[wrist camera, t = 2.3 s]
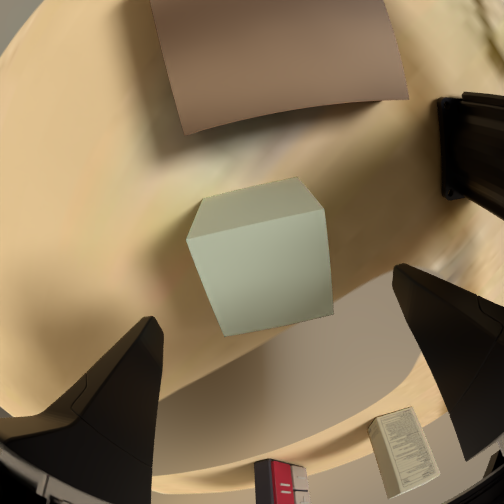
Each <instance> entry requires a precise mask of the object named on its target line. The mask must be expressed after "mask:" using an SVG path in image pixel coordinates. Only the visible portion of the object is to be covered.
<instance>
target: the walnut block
mask: <svg viewBox="0 0 504 504" xmlns="http://www.w3.org/2000/svg"><path fill="white" fill-rule="evenodd" d="M150 4H151V8H152V12H153V17H154V21H155V25H156V30H157V34H158V38H159V42H160V46H161V50H162V54H163V58H164V62H165V66H166V70H167V73H168V77H169V81H170V85H171V89H172V92H173V96H174V100H175V103H176V107H177V111H178V114H179V118H180V121H181V125H182V128H183V132H184V135H185V136H186V135H189V134H192V133H195V132H199V131H202V130H206V129H209V128H213V127H217V126H220V125H224V124H228V123H232V122H236V121H240V120H245V119H249V118H253V117H258V116H263V115H268V114H273V113H278V112H283V111H289V110H295V109H301V108H308V107H315V106H323V105H331V104H340V103H350V102H363V101H380V100H409V95H408V89H407V84H406V79H405V74H404V69H403V65H402V61H401V57H400V53H399V49H398V45H397V41H396V38H395V35H394V31H393V28H392V25H391V22H390V19H389V16H388V13H387V10H386V7H385V4H384V2H383V0H150Z"/></svg>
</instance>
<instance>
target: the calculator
mask: <svg viewBox="0 0 504 504" xmlns="http://www.w3.org/2000/svg"><path fill="white" fill-rule="evenodd" d="M254 472H255V493H256V504H311V501H310V493H309V492H308V489H309V486H308V479H307V471H306V468H304V467H302V466H297V465H293V464H288V463H284V462H280V461H277V460H273V459H266V460H262V461H258V462H255V463H254Z"/></svg>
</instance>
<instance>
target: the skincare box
mask: <svg viewBox="0 0 504 504" xmlns="http://www.w3.org/2000/svg"><path fill="white" fill-rule="evenodd" d="M367 432H368V435H369V438H370V441H371V444H372V447H373V451H374V453H375V457H376V460H377V464H378V467H379V470H380V473H381V477H382V480H383V484H384V487H385V490H386V494H387V497H388V499H391V498H393V497H396V496H398V495H400V494H403V493H405V492H408V491H410V490H412V489H414V488H417V487H419V486H421V485H423V484H425V483H427V482H429V481H431V480H432V479H434V478H436V477H437V476H439V475H440V472H439V469H438V466H437V464H436V461H435V459H434V456H433V454H432V451H431V448H430V446H429V444H428V441H427V439H426V436H425V434H424V432H423V429H422V427H421V424H420V422H419V420H418V418H417V416H416V413H415V411H414V409H413V407H409V408H406V409H403V410H400V411H397V412H393V413H390V414H386V415H383V416H380V417H377V418H375V420H374V421H373V423H372V424H371V425H370V427H369V428H368V430H367Z"/></svg>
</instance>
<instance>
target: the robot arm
mask: <svg viewBox="0 0 504 504" xmlns="http://www.w3.org/2000/svg"><path fill="white" fill-rule="evenodd" d="M444 103H445V104H446V108H445V107H444ZM437 107H438V115H439V125H440V137H441V155H442V196H443V197H444V198H445V199H447V200H455V199H460V198H467V199H469V200H471V201H473V202H474V203H476V204H478V205H480V206H481V207H483V208H485V209H486V210H488V211H489V212H491V213H493V214H494V215H496V216H497V217H499V218H500V219H502V220H503V221H504V96H500V95H493V94H484V93H473V92H464V93H463V94H462V99H458V98H447V97H440V98H439V99H438V101H437ZM449 190H450V192H449V194H448V191H449ZM392 287H393V290H394V293H395V295H396V297H397V300H398V302H399V305H400V307H401V309H402V312H403V314H404V317H405V319H406V322H407V323H408V326H409V328H410V329H411V331H412V333H413V335H414V337H415V339H416V341H417V343H418V345H419V347H420V349H421V351H422V353H423V355H424V357H425V359H426V361H427V364H428V366H429V368H430V370H431V372H432V374H433V377H434V379H435V381H436V383H437V386H438V388H439V390H440V393H441V395H442V397H443V400H444V402H445V405H446V407H447V410H448V412H449V414H450V418H451V420H452V423H453V426H454V428H455V431H456V434H457V437H458V440H459V443H460V446H461V449H462V452H463V455H464V458H465V461H468V460H470V459H472V458H473V457H475V456H476V455H478V454H479V453H481V452H482V451H484V450H485V449H487V448H488V447H490V446H491V445H492V444H494V443H495V442H498V444H499V447H500V450H499V451H497V452H496V453H495V454H493V455H492V456H491V458H490V461H489V464H488V466H487V469H486V472H485V474H484V476H483V479H482V480H481V481H479V482H478V483H476V484H474V485H473V486H471V487H470V488H468V489H467V490H465V491H463V492H462V493H460V494H458V495H457V496H455V497H453V498H451V499H450V500H448V501H446V502H444V503H442V504H504V307H503V306H500V305H498V304H495V303H493V302H491V301H489V300H487V299H484V298H482V297H480V296H477V295H476V294H474V293H472V292H469V291H467V290H465V289H463V288H461V287H458V286H456V285H454V284H452V283H449V282H447V281H445V280H443V279H440V278H438V277H436V276H434V275H431V274H429V273H427V272H424V271H422V270H419V269H417V268H415V267H412V266H410V265H408V264H405V263H402V264H399V265H395V266H394V269H393V281H392ZM163 345H164V334H163V331H162V329H161V327H160V326H159V324H158V322H157V320H156V319H155V317H153V316H148V317H143V318H142V319H141V320H140V321H139V322H138V323H137V324H136V325H135V326H134V327H132V328H131V329H130V330H129V331H128V332H127V333H126V334H125V335H124V336H123V337H122V338H121V339H120V340H119V341H118V342H117V343H116V344H115V345H114V346H113V347H112V348H111V349H110V350H109V351H108V352H107V353H106V354H104V355H103V356H102V357H101V358H100V359H99V360H98V361H97V362H96V363H95V364H94V365H93V366H92V367H91V368H90V369H89V370H88V371H87V373H85V374H84V375H83V376H82V377H81V378H80V379H79V380H78V381H77V382H76V383H75V384H74V385H73V386H72V387H71V388H70V389H68V390H67V391H66V392H65V393H64V394H63V395H62V396H61V397H59V398H58V399H57V400H56V401H55V402H54V403H53V404H51V405H50V406H49V407H48V408H47V409H46V410H44V411H43V412H41V413H40V414H37V415H34V416H27V417H13V418H0V448H2V449H3V450H2V453H1V456H0V504H151V484H152V468H151V467H152V464H153V463H152V462H153V450H154V438H155V427H156V418H157V409H158V400H159V392H160V385H161V377H162V368H163Z"/></svg>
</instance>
